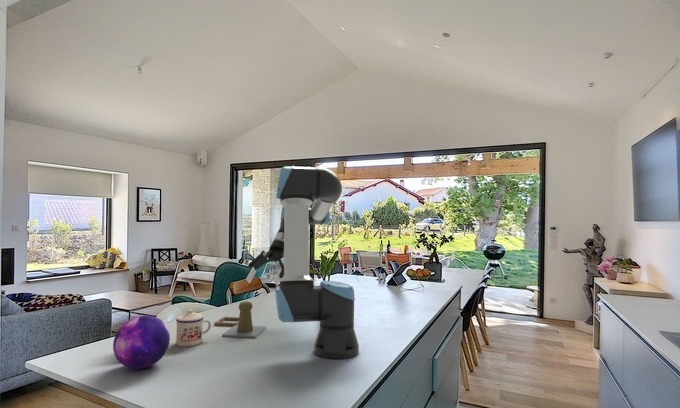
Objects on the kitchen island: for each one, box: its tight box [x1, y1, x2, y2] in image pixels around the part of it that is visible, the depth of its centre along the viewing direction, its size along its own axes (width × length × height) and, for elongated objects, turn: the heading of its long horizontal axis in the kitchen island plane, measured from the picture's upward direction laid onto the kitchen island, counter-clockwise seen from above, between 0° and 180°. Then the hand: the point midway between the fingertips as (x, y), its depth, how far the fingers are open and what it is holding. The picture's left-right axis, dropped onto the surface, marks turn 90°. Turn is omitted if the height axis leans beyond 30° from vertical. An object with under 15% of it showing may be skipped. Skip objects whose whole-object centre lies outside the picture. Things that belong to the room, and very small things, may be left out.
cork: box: [237, 301, 254, 332], centre depth 150 cm, size 6×6×11 cm
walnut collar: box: [213, 316, 239, 327], centre depth 163 cm, size 10×10×1 cm
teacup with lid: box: [175, 308, 212, 347], centre depth 137 cm, size 12×9×12 cm
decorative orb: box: [112, 314, 171, 370], centre depth 114 cm, size 15×15×15 cm
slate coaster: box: [221, 325, 267, 339], centre depth 149 cm, size 13×13×1 cm
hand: (261, 282), depth 160 cm, fingers open, 13 cm apart
